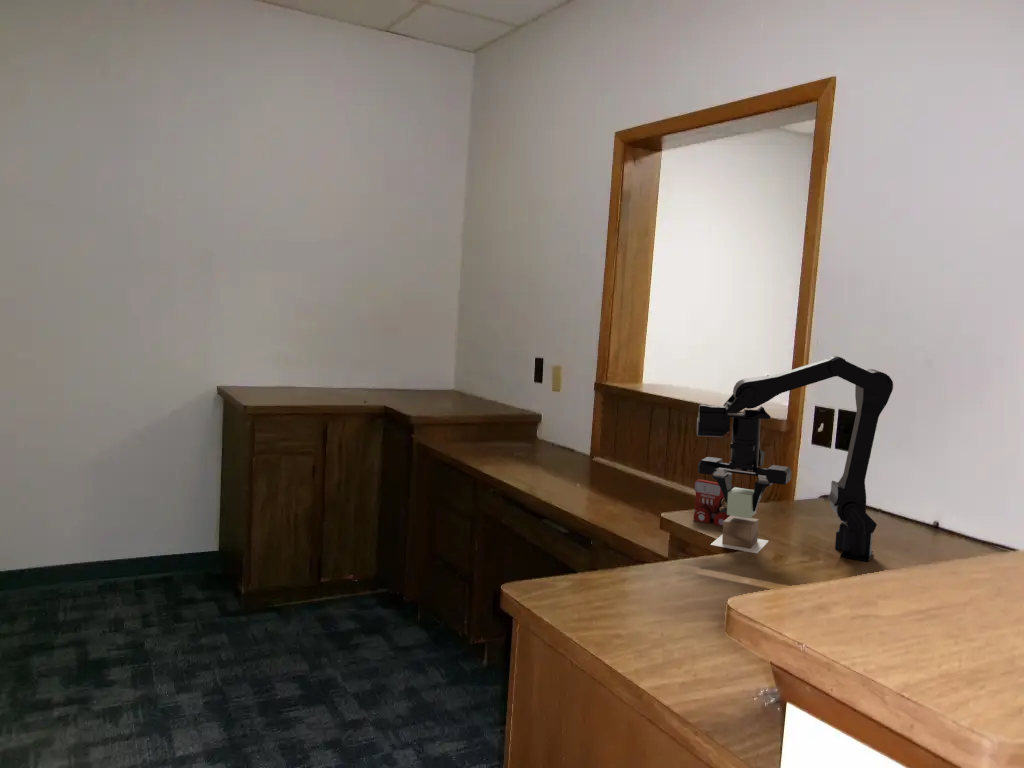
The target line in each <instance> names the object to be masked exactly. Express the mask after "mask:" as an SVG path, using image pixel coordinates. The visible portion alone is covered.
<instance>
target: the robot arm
mask: <svg viewBox="0 0 1024 768" xmlns="http://www.w3.org/2000/svg"><path fill="white" fill-rule="evenodd" d="M834 377H838V378H841V379H842V380H844V381H847V382H848V383H850V384H853V385H855V389H854V390H855V391H854V392H855V395H854V396H855V406H856V407H855V408H856V413H855V418H854V422H853V423H854V424H853V428H852V433H851V436H850V437H851V438H850V442H849V447H848V451H847V455H846V461H845V465H844V469H843V473H842V475H841V478H839V480H838V481H836V480H831V482H830V483H831V484H830V492H829V495H828V496H827V498H828V500H829V501H830V503H829V504H830V507H831V509H832V511H833V512H834V513H835V514H836V515H837V517H838V518H839V519H840V521H841V523H840V525H838V526H839V527H838V529H837V531H836V532H835V542H834V543H835V544H834V545H835V547H834V550H837V551H841V552H842V553H841V555H840V557H841V558H847V559H852V560H858V561H865V562H869V561H870V560H871V559H872V556H873V554H874V552H873V551H872V549H873V537H874V534H873V533H874V532H875V530H876V528H877V526H878V525H877V523H876V522H875V520H873V518H871V516H870V515H869V514H868V513H867V491H866V484H865V483H866V477H867V473H868V467H869V463H870V458H871V455H872V454H871V453H872V448H873V446H874V445H873V444H874V441H875V436H876V431H877V426H878V423H879V417H880V416H881V414H882V412H883V410H884V409H885V408H886V406H887V404H888V401H889V399H890V397H891V395H892V392H893V390H894V381H893V379H892V378H891V377H890V375H888V374H887V373H886V372H883V371H880V370H877V369H873V368H867V369H864V368H861V367H859V366H858V365H856V364H854V363H852V362H849V361H847V360H846V359H845V358H843V357H841V356H838V355H831V356H828V357H827V358H826V359H822V360H819V361H815V362H811V363H808V364H806V365H802V366H799V367H797V368H794V369H791V370H787V371H783V372H781V373H778V374H774V375H768V376H755V377H748V378H742V379H740V380H738V381H736V382H735V384H734V386H733V390H732V394H731V396H730V397H729V398H727V400H726V401H725V402H724V404H723V405H708V404H701V403H700V404H699V405H698V413H697V418H696V436H697V437H709V438H710V437H713V438H724V437H725V435H727V434H729V433H730V430H731V429H732V430H731V442H730V443H729V444H730V447H729V449H731V450H730V461H729V463H726V462H724V460H723V458H719V457H712V456H706V457H704V458H703V459H700V461H699V462H698V465H697V473H698V474H703V475H712V477H711V478H712V480H716V482H717V483H718V484H719V486H720V488H721V490H722V492H723V495H724V498H725V500H726V503H727V502H728V492H729V491H730V490H731V484H732V479H733V474H738V475H744V476H745V475H747V476H754V477H757V478H758V479H757V481H755V482H754V489H753V490H754V497H753V511H754V512H755V511H756V512H757V509H758V507H759V503H760V501H761V499H762V496H763V494H764V492H765V491H766V489H767V487H771V486H772V485H773V484H775V485H782V486H784V485H787V484H788V483H789V482H790V481H791V480H792V470H791V468H790V466H783V465H778V464H777V465H776V464H771V465H770V466H769V467H768V468H765V467H764V462H765V461H764V460H765V454H766V452H765V451H764V450H763V449H761V442H760V436H761V420H771V415H770V414H769V413H768V412H767V411H766V409H765V407H763V406H761V405H763V404H765V403H767V402H770V401H771V400H772V399H774V398H775V397H777V396H779V395H781V394H783V393H786V392H789V391H790V392H791V391H792V390H796V389H800V388H802V387H806V386H808V385H813V384H815V383H819V382H822V381H825V380H828V379H831V378H834ZM758 407H759V408H758ZM755 408H757V409H755ZM731 418H732V426H731ZM731 427H732V428H731ZM724 498H723V499H724Z"/></svg>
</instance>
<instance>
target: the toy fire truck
mask: <svg viewBox="0 0 1024 768" xmlns="http://www.w3.org/2000/svg"><path fill="white" fill-rule="evenodd" d="M693 484H694V487H693V490H694V491H695V497H694V498H695V500H694V501H695V502H694V511H693V512H694V513H693V520H694V522H699V523H700V522H701V523H704V524H710V523H711V522H712V520H713V524H714V525H715V526H719V527H723V521H724V520H726V519H727V518H728V517H729V516H730V515H727V503H726V500H725V498H724V495H723V492H722V490H721V488H720V486H719V484H718V482H717V481H716V482H715V481H712V480H711V481H710V480H705V479H699V478H698V479H697V480H695V481H694V483H693ZM734 487H735V486H734V485H733V484H732V483H731V489H733V488H734ZM721 507H722V508H721Z"/></svg>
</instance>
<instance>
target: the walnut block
mask: <svg viewBox="0 0 1024 768" xmlns="http://www.w3.org/2000/svg"><path fill="white" fill-rule="evenodd" d="M759 522H760V521H759V519H758V518H754V517H751V518H744V517H738V516H732V515H730V516H729V517H728V518H727V519H726V520H724V521H723V526H722V534H723V539H722V544H726V545H732V546H737V547H743V548H748V549H751V548H752V547H753V545H754V544H755V543H756V542H757V540H758V539H759Z"/></svg>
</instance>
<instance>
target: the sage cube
mask: <svg viewBox="0 0 1024 768" xmlns="http://www.w3.org/2000/svg"><path fill="white" fill-rule="evenodd" d="M753 497H754V489H749V488H743V487H742V488H741V487H736V486H734V488H733V489H731V490H730V491H729V492H728V502H727V515H732V516H738V517H744V518H753V517H754V516H755V515H756V514H757V510H756V511H755V512H754V511H753Z"/></svg>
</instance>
